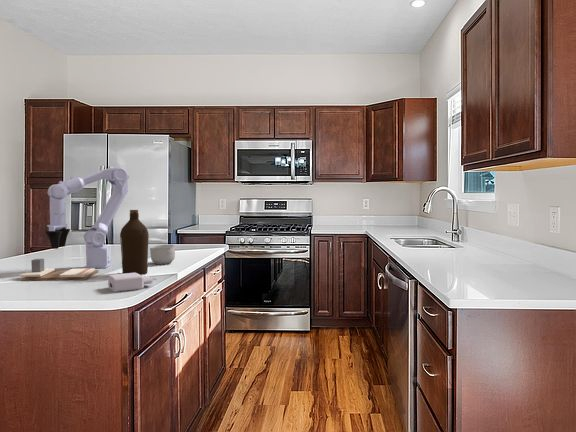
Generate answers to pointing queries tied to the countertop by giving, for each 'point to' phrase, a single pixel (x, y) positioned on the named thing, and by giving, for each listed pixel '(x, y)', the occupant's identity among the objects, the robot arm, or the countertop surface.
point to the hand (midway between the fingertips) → (58, 247)
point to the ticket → (77, 272)
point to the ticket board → (55, 276)
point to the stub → (37, 269)
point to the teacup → (162, 254)
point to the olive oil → (134, 245)
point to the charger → (128, 281)
